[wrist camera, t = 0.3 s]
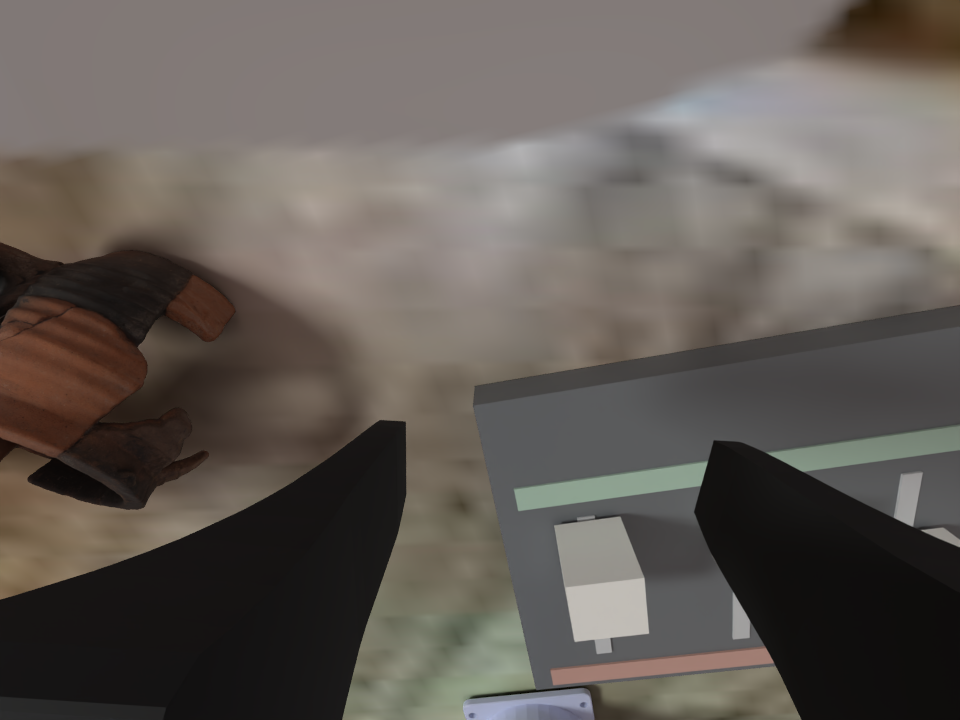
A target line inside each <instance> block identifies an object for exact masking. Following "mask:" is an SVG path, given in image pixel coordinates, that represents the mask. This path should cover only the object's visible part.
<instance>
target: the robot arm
mask: <svg viewBox="0 0 960 720" xmlns="http://www.w3.org/2000/svg"><path fill="white" fill-rule="evenodd" d="M405 498H406V422H403V421H386V420H379V421H378V422H376V423H375V424H374V425H372V426H371V427H370V428H368V429H367V430H366V431H364V432H363V433H362V434H361V435H359V436H358V437H357V438H355V439H354V440H353V441H351V442H350V443H349V444H347V445H346V446H345V447H343V448H342V449H341V450H339V451H338V452H337V453H335V454H334V455H333V456H331V457H330V458H328V459H327V460H326V461H324V462H323V463H321V464H320V465H318V466H317V467H315V468H313V469H312V470H310V471H309V472H307V473H306V474H304V475H303V476H301V477H300V478H298V479H297V480H295V481H294V482H292V483H291V484H289V485H287V486H286V487H284V488H282V489H281V490H279V491H277V492H276V493H274V494H272V495H270V496H268V497H267V498H265V499H263V500H261V501H259V502H257V503H255V504H254V505H252V506H250V507H248V508H246V509H244V510H242V511H240V512H238V513H236V514H234V515H232V516H230V517H227V518H225V519H223V520H221V521H219V522H216V523H214V524H212V525H210V526H208V527H205V528H203V529H201V530H199V531H197V532H195V533H192V534H190V535H188V536H186V537H183V538H181V539H179V540H176V541H174V542H171V543H169V544H166V545H163V546H161V547H158V548H156V549H153V550H151V551H148V552H146V553H143V554H140V555H137V556H135V557H132V558H129V559H126V560H124V561H121V562H118V563H115V564H113V565H110V566H107V567H104V568H101V569H98V570H95V571H92V572H89V573H86V574H83V575H80V576H76V577H73V578H70V579H67V580H64V581H60V582H57V583H54V584H51V585H47V586H44V587H41V588H38V589H35V590H31V591H28V592H25V593H22V594H18V595H15V596H12V597H8V598H5V599H1V600H0V720H342V717H343V713H344V709H345V705H346V700H347V696H348V692H349V688H350V684H351V680H352V676H353V672H354V668H355V664H356V660H357V656H358V652H359V648H360V644H361V641H362V638H363V634H364V631H365V628H366V625H367V622H368V619H369V616H370V613H371V610H372V607H373V604H374V601H375V599H376V596H377V593H378V590H379V587H380V584H381V581H382V578H383V576H384V573H385V570H386V567H387V564H388V561H389V558H390V555H391V552H392V549H393V546H394V543H395V540H396V537H397V534H398V531H399V526H400V522H401V517H402V512H403V508H404V503H405ZM694 513H695V516H696V519H697V521H698V524H699V526H700V529H701V531H702V534H703V536H704V539H705V541H706V543H707V546H708V548H709V550H710V552H711V554H712V556H713V558H714V560H715V561H716V563H717V565H718V567H719V568H720V570H721V572H722V574H723V575H724V577H725V579H726V581H727V582H728V584H729V586H730V588H731V589H732V591H733V593H734V594H735V596H736V598H737V600H738V601H739V603H740V605H741V606H742V608H743V610H744V611H745V613H746V615H747V617H748V618H749V620H750V622H751V623H752V625H753V627H754V629H755V630H756V632H757V634H758V635H759V637H760V639H761V640H762V642H763V644H764V646H765V647H766V649H767V651H768V653H769V654H770V656H771V658H772V660H773V662H774V664H775V666H776V667H777V669H778V671H779V673H780V675H781V677H782V679H783V681H784V683H785V685H786V688H787V690H788V692H789V694H790V696H791V698H792V700H793V703H794V705H795V707H796V709H797V711H798V713H799V715H800V717H801V720H960V547H958V546H956V545H953V544H951V543H948V542H946V541H944V540H941V539H939V538H937V537H934V536H932V535H930V534H928V533H925V532H923V531H921V530H919V529H917V528H914V527H912V526H910V525H908V524H906V523H904V522H902V521H899V520H897V519H895V518H893V517H891V516H889V515H887V514H885V513H883V512H881V511H879V510H877V509H875V508H872V507H870V506H868V505H866V504H864V503H862V502H860V501H858V500H856V499H854V498H852V497H850V496H848V495H846V494H845V493H843V492H841V491H839V490H837V489H835V488H833V487H831V486H829V485H827V484H825V483H823V482H821V481H819V480H818V479H816V478H814V477H812V476H810V475H808V474H806V473H804V472H802V471H800V470H798V469H797V468H795V467H793V466H791V465H789V464H787V463H785V462H783V461H781V460H779V459H777V458H775V457H773V456H771V455H769V454H767V453H765V452H763V451H761V450H759V449H757V448H754V447H752V446H750V445H747V444H745V443H742V442H736V441H719V440H714V441H713V445H712V448H711V452H710V456H709V459H708V463H707V466H706V470H705V474H704V477H703V481H702V484H701V488H700V492H699V495H698V499H697V502H696V506H695V510H694ZM463 711H464V714H465V717H466V720H595V719H594V712H593V706H592V700H591V694H590V691H589V690H588V689H585V688H575V689H565V690H555V691H545V692H535V693H525V694H515V695H505V696H495V697H485V698H475V699H468V700H466V701H465V702H464V704H463Z"/></svg>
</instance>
